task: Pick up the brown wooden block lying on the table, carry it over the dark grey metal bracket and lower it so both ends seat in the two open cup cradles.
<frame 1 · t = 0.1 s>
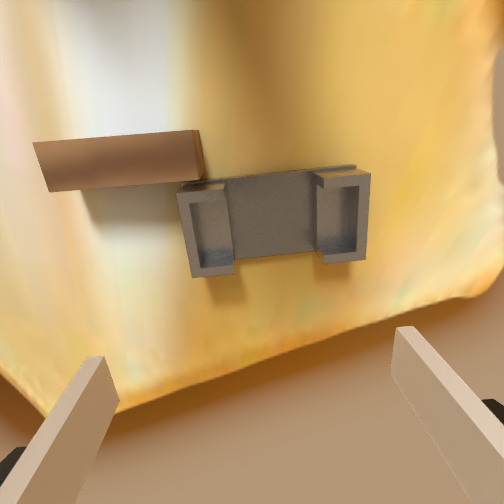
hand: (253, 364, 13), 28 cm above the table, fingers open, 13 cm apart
bracket: (270, 215, 39), on the table
brown wooden block: (136, 157, 36), on the table
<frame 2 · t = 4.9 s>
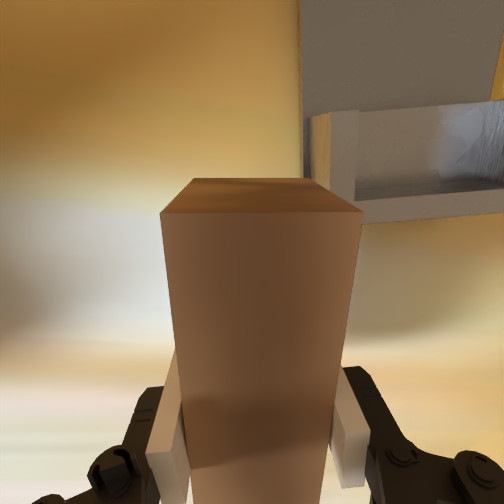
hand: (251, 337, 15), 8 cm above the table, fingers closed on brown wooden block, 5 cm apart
bracket: (397, 1, 16), on the table
brown wooden block: (251, 329, 16), point 7 cm above the table, touching gripper
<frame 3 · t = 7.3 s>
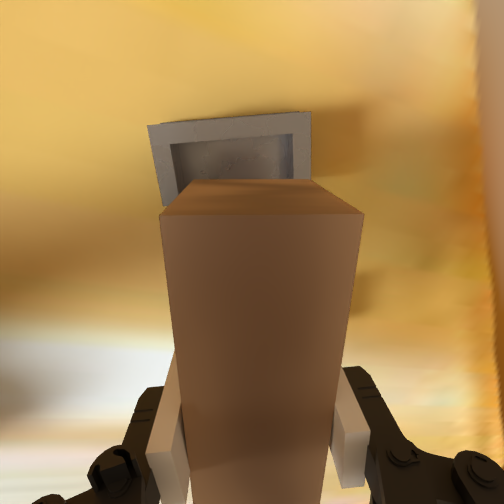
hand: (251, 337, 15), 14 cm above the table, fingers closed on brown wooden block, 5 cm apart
bracket: (242, 243, 28), on the table
brown wooden block: (251, 331, 16), point 13 cm above the table, touching gripper
when the fingers open (4 cm above the table, at t = 10.0 s): brown wooden block stays where it is, resting on bracket.
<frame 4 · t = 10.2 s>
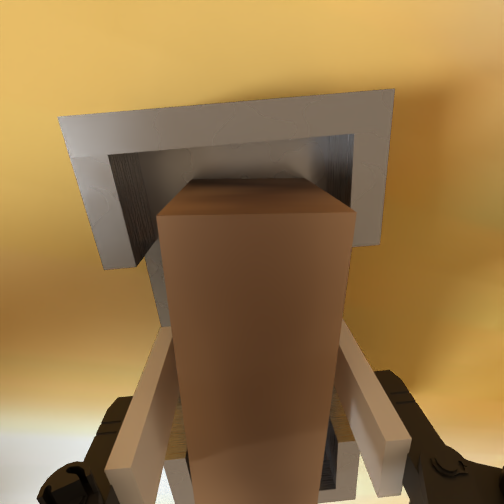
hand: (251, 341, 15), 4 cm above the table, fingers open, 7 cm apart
bracket: (248, 298, 19), on the table
brown wooden block: (250, 328, 16), point 3 cm above the table, touching bracket
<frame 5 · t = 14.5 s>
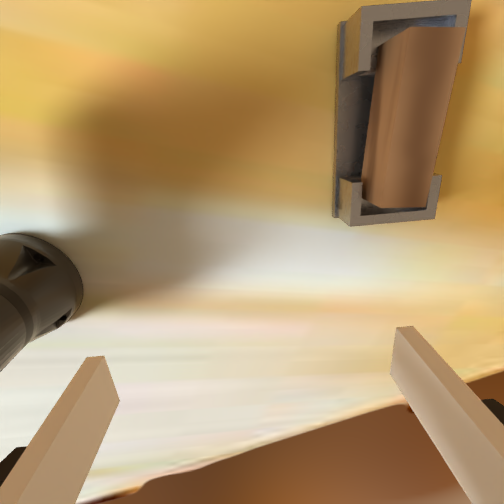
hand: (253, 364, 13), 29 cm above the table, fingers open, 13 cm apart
bracket: (377, 127, 37), on the table
brown wooden block: (388, 127, 34), point 3 cm above the table, touching bracket
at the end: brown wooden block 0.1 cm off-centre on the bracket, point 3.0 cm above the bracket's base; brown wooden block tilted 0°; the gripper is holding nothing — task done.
